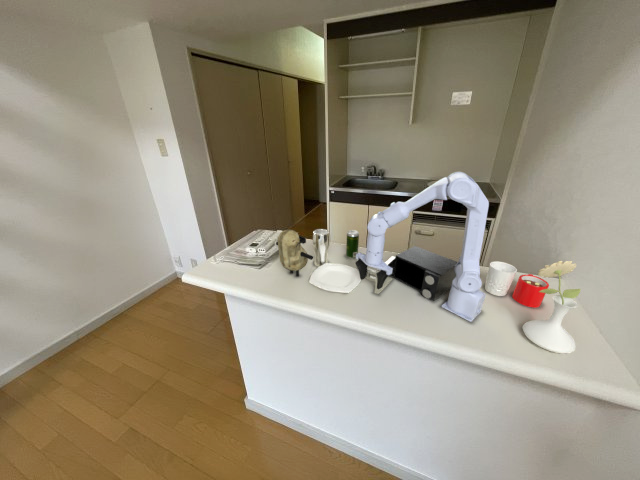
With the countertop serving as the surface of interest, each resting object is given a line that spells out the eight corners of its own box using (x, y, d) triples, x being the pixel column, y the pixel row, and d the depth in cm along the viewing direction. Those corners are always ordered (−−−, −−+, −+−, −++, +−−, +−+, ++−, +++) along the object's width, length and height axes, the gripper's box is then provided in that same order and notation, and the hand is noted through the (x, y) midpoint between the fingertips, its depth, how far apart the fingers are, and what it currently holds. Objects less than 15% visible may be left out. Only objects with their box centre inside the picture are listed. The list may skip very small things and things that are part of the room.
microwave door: (361, 287, 95) (363, 265, 91) (377, 273, 104) (379, 252, 100) (378, 294, 91) (380, 271, 87) (393, 279, 100) (395, 257, 96)
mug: (535, 290, 93) (543, 272, 90) (543, 310, 83) (552, 290, 80) (509, 285, 96) (515, 266, 93) (513, 303, 87) (521, 283, 83)
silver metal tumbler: (332, 262, 113) (332, 230, 107) (323, 269, 108) (323, 236, 101) (318, 258, 116) (318, 227, 110) (310, 264, 111) (309, 232, 105)
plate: (366, 273, 104) (367, 269, 103) (351, 301, 88) (351, 296, 87) (323, 264, 111) (323, 260, 111) (302, 287, 96) (302, 283, 95)
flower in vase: (563, 332, 74) (602, 256, 64) (581, 363, 65) (630, 280, 54) (510, 320, 79) (538, 248, 69) (519, 347, 70) (553, 268, 59)
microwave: (432, 302, 87) (437, 277, 83) (388, 279, 100) (391, 257, 96) (453, 285, 96) (459, 262, 92) (411, 267, 109) (414, 245, 104)
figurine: (322, 276, 102) (322, 230, 94) (301, 290, 94) (298, 241, 86) (289, 261, 114) (286, 219, 105) (267, 272, 106) (262, 227, 97)
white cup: (482, 282, 98) (489, 259, 94) (507, 288, 94) (516, 264, 90) (482, 292, 92) (489, 269, 88) (508, 299, 88) (518, 275, 84)
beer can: (360, 256, 117) (361, 232, 112) (351, 260, 114) (353, 235, 109) (351, 252, 121) (352, 229, 116) (343, 255, 118) (344, 232, 113)
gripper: (400, 253, 84) (394, 288, 90) (366, 239, 94) (363, 271, 100) (387, 260, 80) (382, 296, 85) (353, 244, 90) (350, 277, 96)
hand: (371, 283), depth 92 cm, fingers open, 7 cm apart
